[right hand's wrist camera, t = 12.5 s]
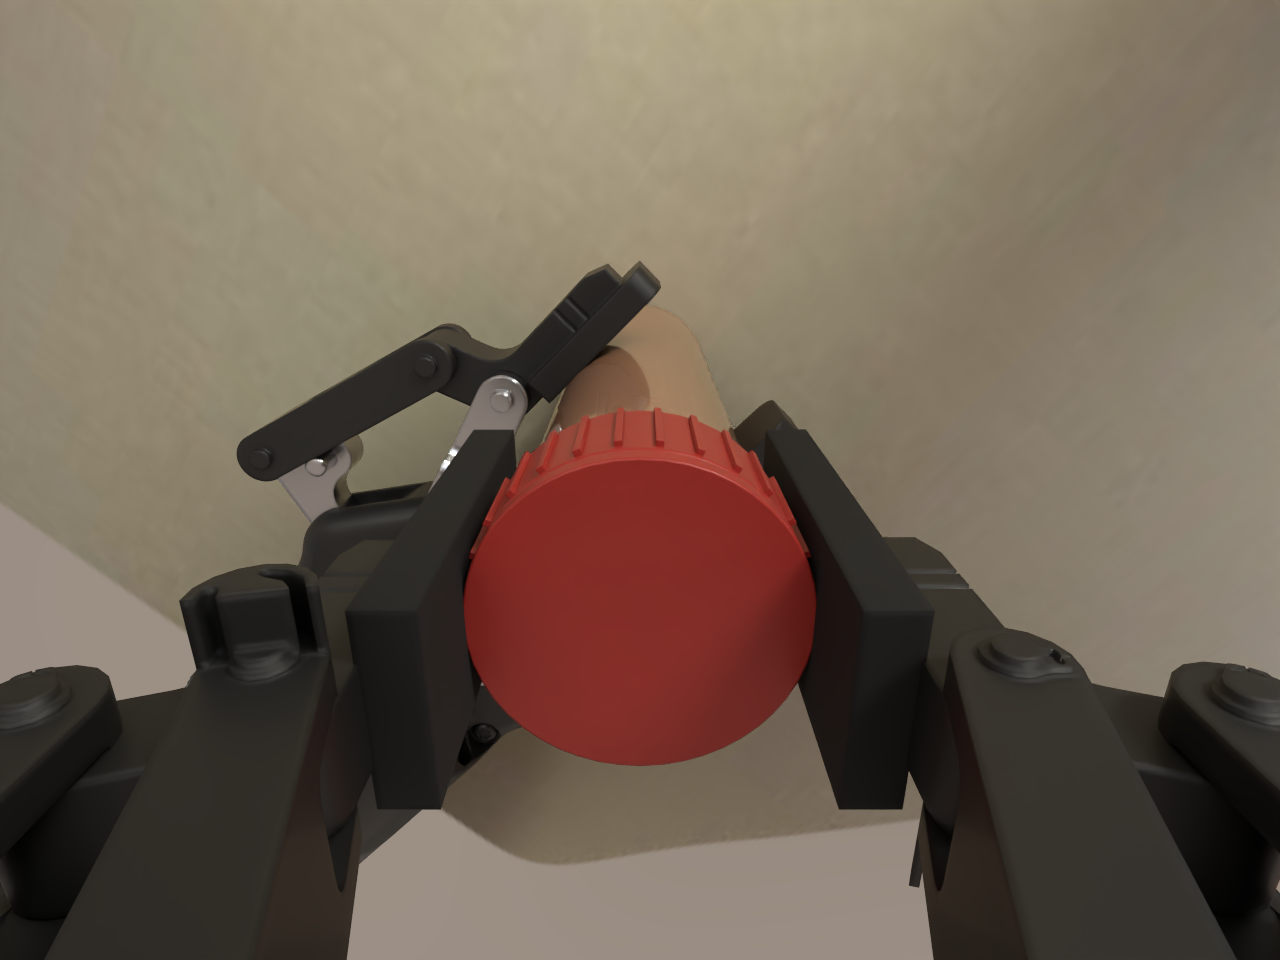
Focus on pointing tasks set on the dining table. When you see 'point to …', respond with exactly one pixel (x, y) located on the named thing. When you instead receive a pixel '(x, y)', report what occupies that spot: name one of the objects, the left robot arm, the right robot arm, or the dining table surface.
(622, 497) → the lid
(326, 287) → the dining table surface
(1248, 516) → the dining table surface
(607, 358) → the jar
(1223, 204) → the dining table surface
